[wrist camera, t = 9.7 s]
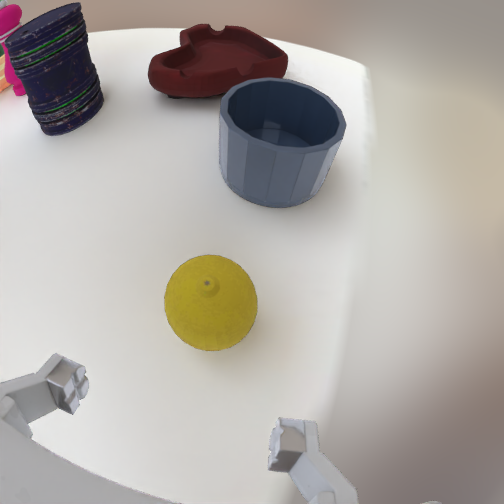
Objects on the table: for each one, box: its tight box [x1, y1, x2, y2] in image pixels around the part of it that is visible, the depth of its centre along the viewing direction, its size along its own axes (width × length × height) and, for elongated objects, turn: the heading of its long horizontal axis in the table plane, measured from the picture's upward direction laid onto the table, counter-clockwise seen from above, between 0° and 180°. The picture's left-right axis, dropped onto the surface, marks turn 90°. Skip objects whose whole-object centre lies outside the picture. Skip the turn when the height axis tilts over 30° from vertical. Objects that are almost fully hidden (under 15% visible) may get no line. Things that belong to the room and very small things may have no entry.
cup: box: [219, 77, 346, 208], centre depth 24 cm, size 10×10×7 cm
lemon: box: [164, 255, 257, 351], centre depth 17 cm, size 6×6×8 cm
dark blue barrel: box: [4, 2, 104, 136], centre depth 23 cm, size 10×10×15 cm
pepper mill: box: [0, 0, 26, 96], centre depth 25 cm, size 7×7×20 cm
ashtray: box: [148, 24, 288, 98], centre depth 32 cm, size 18×16×5 cm
